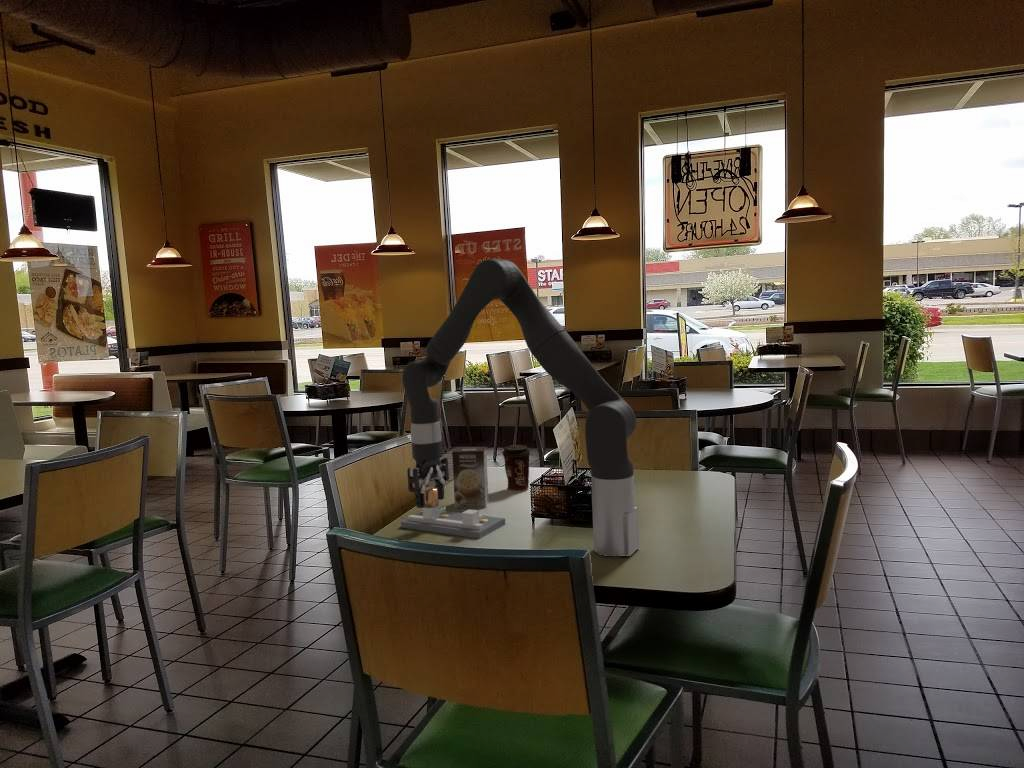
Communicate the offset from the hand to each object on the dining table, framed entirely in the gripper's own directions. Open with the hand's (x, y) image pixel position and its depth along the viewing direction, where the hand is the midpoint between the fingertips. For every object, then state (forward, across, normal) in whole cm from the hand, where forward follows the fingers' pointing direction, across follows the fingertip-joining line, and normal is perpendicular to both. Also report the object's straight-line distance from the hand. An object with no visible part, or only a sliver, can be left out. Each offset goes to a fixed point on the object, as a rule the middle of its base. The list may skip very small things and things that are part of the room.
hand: (430, 503), depth 183 cm
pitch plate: (+6, +4, -4) cm, 8 cm away
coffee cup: (+7, +40, -2) cm, 41 cm away
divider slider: (+4, +2, 0) cm, 4 cm away
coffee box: (+7, +22, +2) cm, 23 cm away
